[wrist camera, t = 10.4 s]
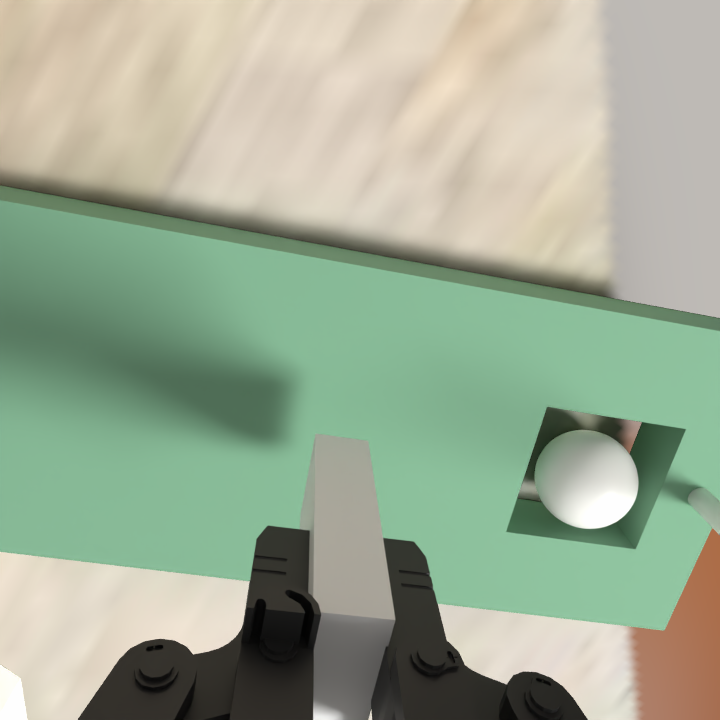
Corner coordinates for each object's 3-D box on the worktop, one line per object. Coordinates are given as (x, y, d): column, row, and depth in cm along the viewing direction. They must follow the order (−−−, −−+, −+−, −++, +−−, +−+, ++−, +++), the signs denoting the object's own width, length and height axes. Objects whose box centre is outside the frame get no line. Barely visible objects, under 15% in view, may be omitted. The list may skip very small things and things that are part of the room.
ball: (637, 427, 23) (544, 405, 23) (666, 470, 19) (557, 444, 20) (608, 507, 24) (519, 484, 24) (630, 560, 20) (527, 533, 21)
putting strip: (-5, 184, 19) (-834, 309, 5) (748, 323, 22) (1430, 628, 8) (-1, 506, 23) (-470, 1040, 9) (634, 587, 26) (970, 1081, 12)
